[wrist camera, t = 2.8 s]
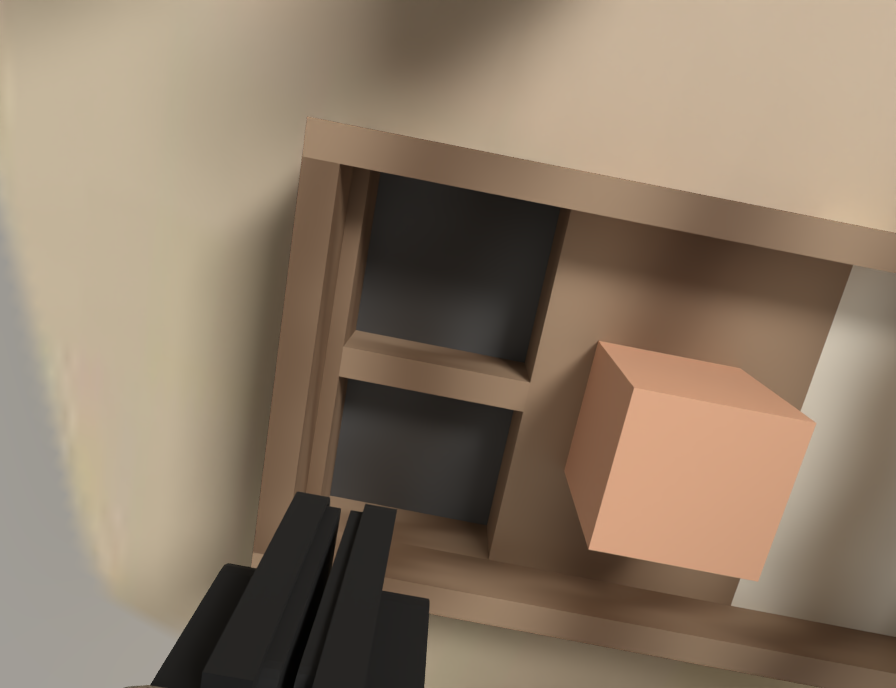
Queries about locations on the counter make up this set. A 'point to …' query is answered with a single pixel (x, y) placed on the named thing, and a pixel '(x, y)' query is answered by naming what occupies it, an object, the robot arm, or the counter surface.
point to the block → (683, 461)
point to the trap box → (580, 394)
